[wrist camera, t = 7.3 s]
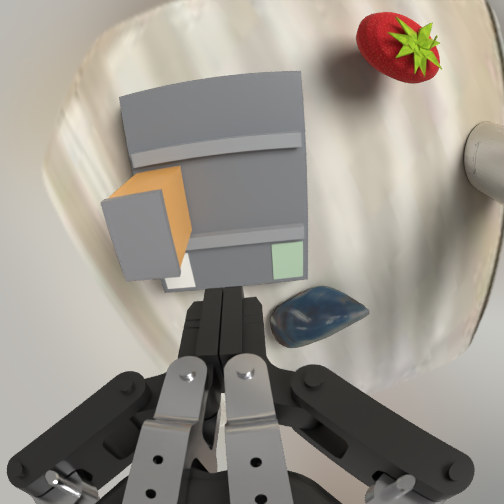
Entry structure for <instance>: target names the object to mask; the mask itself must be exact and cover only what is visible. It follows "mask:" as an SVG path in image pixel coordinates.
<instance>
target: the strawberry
mask: <svg viewBox="0 0 504 504" xmlns="http://www.w3.org/2000/svg"><path fill="white" fill-rule="evenodd" d="M432 24H433V23H430V24H428V25H426V26H424V27H421V26H420V25H418V24H417V23H416V22H414V21H413V20H411V19H409V18H407V17H405V16H403V15H400V14H397V13H392V12H382V13H375V14H371V15H369V16H367V17H365V18H364V19H363V20H362V21H361V23H360V25H359V28H358V31H357V35H356V41H357V45H358V48H359V50H360V52H361V54H362V56H363V57H364V58H365V60H366V61H367V62H368V63H369V64H370V65H371V66H372V67H374V68H375V69H376V70H378V71H379V72H381V73H383V74H385V75H387V76H389V77H391V78H394V79H396V80H398V81H402V82H405V83H420V82H424V81H427V80H430V79H431V78H433V77H434V76H435V75H436V73H437V72H438V69H439V68H440V69H442V68H441V66H440V59H439V53H438V50H437V48H436V45H438V44H440V43H439V42H437V41H435V40H436V38H437V35H436V37H435V39H434V40H432V38H431V37H430V32H431V28H432Z"/></svg>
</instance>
